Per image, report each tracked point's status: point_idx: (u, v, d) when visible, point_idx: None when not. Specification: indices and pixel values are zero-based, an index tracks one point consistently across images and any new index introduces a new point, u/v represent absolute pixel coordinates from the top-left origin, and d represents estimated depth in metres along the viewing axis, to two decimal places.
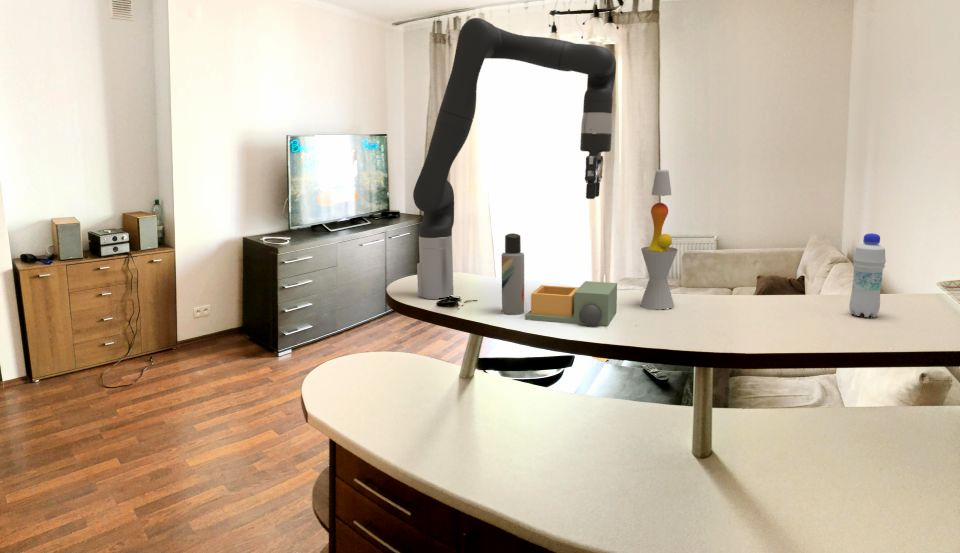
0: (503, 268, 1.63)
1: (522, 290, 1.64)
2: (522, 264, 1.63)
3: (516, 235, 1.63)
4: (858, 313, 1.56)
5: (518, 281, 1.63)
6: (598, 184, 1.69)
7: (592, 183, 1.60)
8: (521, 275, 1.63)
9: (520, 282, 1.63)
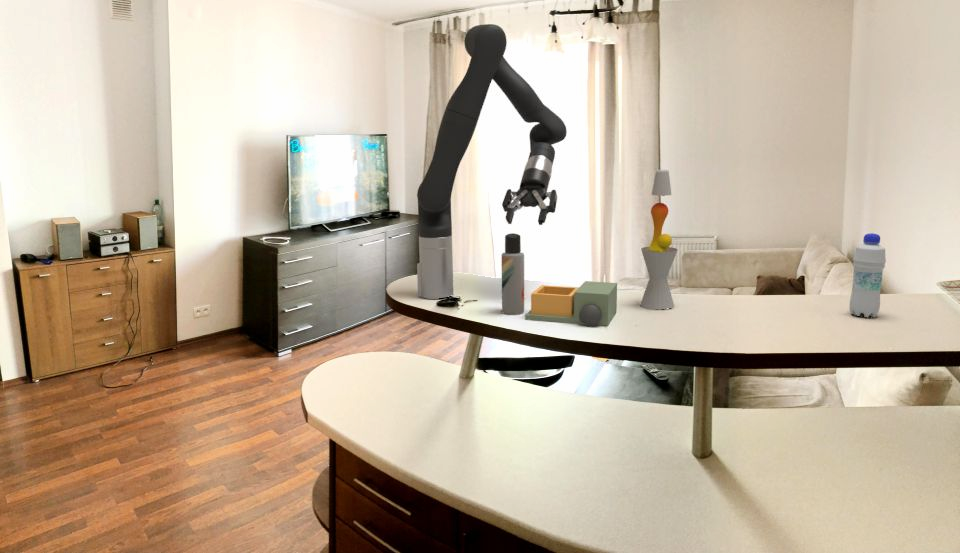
0: (503, 268, 1.63)
1: (522, 290, 1.64)
2: (522, 264, 1.63)
3: (516, 235, 1.63)
4: (858, 313, 1.56)
5: (518, 281, 1.63)
6: (513, 214, 1.76)
7: (547, 212, 1.72)
8: (521, 275, 1.63)
9: (520, 282, 1.63)
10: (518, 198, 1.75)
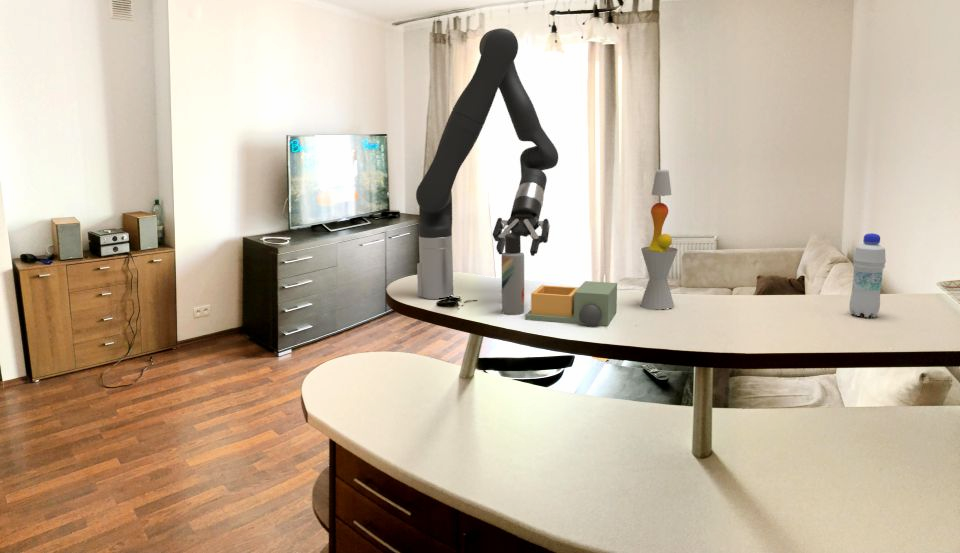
0: (503, 268, 1.63)
1: (522, 290, 1.64)
2: (522, 264, 1.63)
3: (516, 235, 1.63)
4: (858, 313, 1.56)
5: (518, 281, 1.63)
6: (504, 244, 1.70)
7: (539, 242, 1.66)
8: (521, 275, 1.63)
9: (520, 282, 1.63)
10: (509, 227, 1.69)
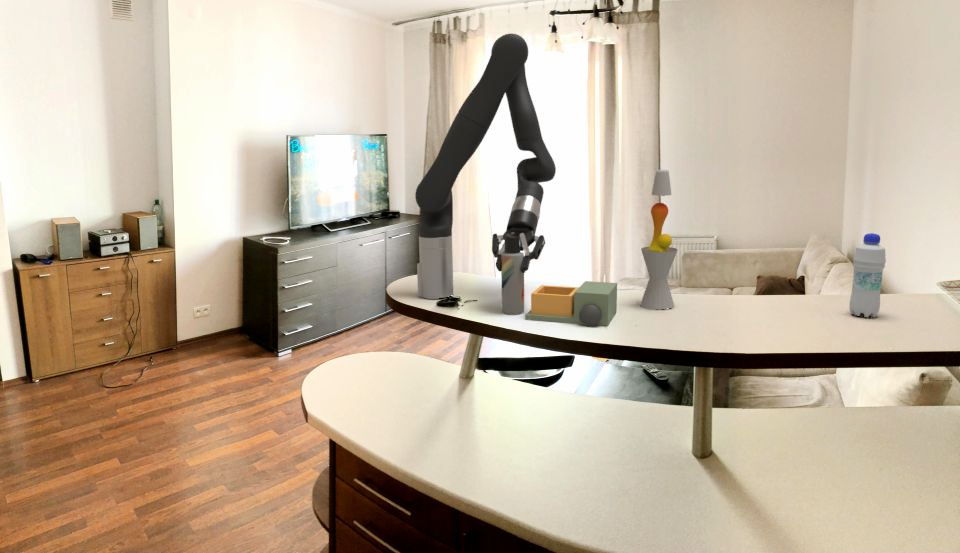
0: (503, 268, 1.63)
1: (522, 290, 1.64)
2: None
3: (516, 235, 1.63)
4: (858, 313, 1.56)
5: (518, 281, 1.63)
6: None
7: (529, 260, 1.64)
8: (521, 275, 1.63)
9: (520, 282, 1.63)
10: None
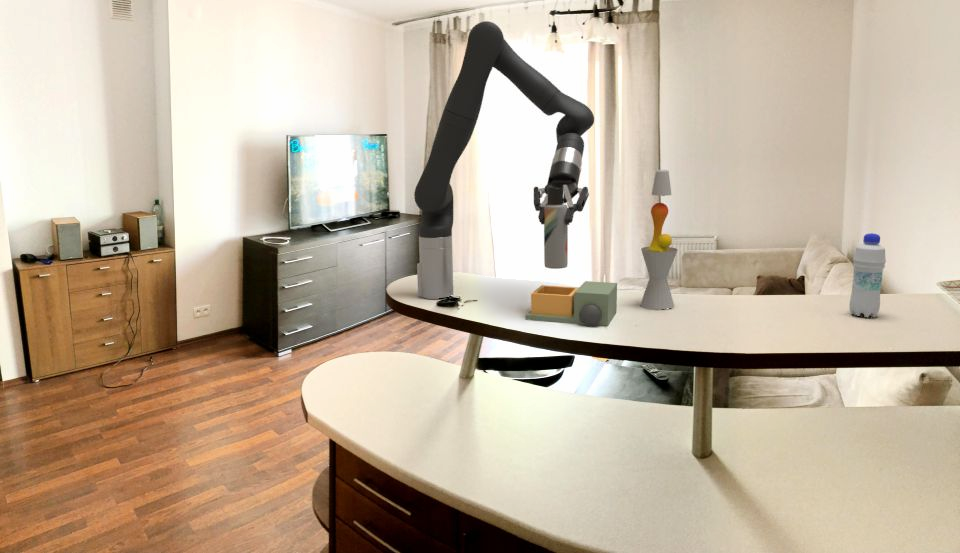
0: (546, 220, 1.58)
1: (566, 243, 1.58)
2: None
3: (559, 186, 1.57)
4: (858, 313, 1.56)
5: (562, 233, 1.57)
6: None
7: (573, 212, 1.58)
8: (565, 227, 1.57)
9: (564, 235, 1.57)
10: None
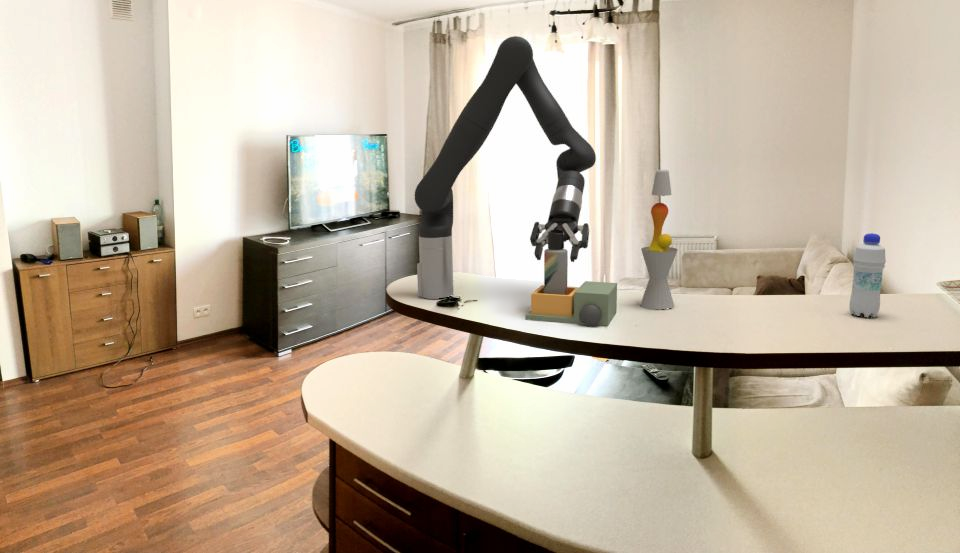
0: (546, 265, 1.60)
1: (565, 287, 1.61)
2: (566, 261, 1.59)
3: (559, 231, 1.59)
4: (858, 313, 1.56)
5: (561, 278, 1.59)
6: (542, 249, 1.63)
7: (579, 248, 1.60)
8: (565, 272, 1.60)
9: (563, 279, 1.60)
10: None
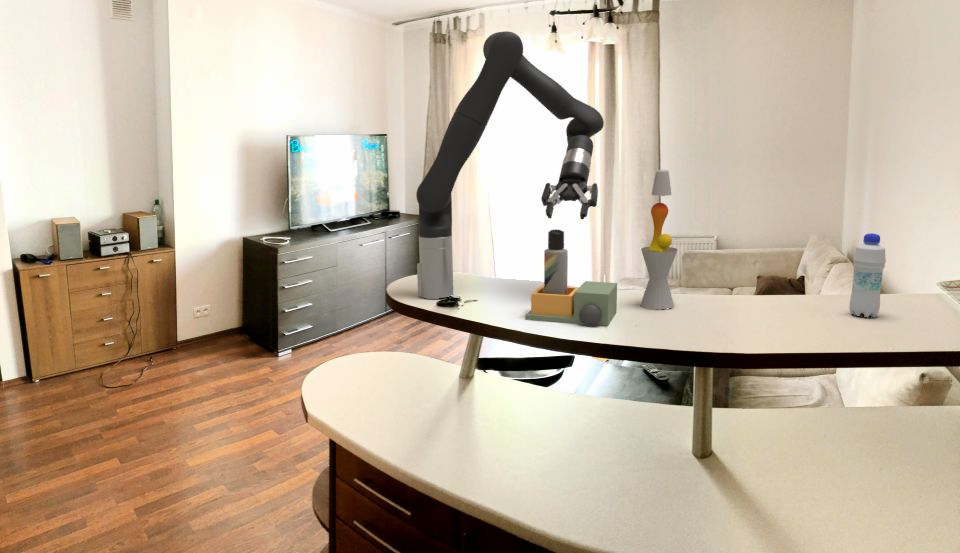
0: (546, 265, 1.60)
1: (565, 287, 1.61)
2: (566, 261, 1.59)
3: (560, 231, 1.59)
4: (858, 313, 1.56)
5: (561, 278, 1.59)
6: None
7: (588, 206, 1.68)
8: (565, 272, 1.60)
9: (563, 279, 1.60)
10: (558, 192, 1.70)
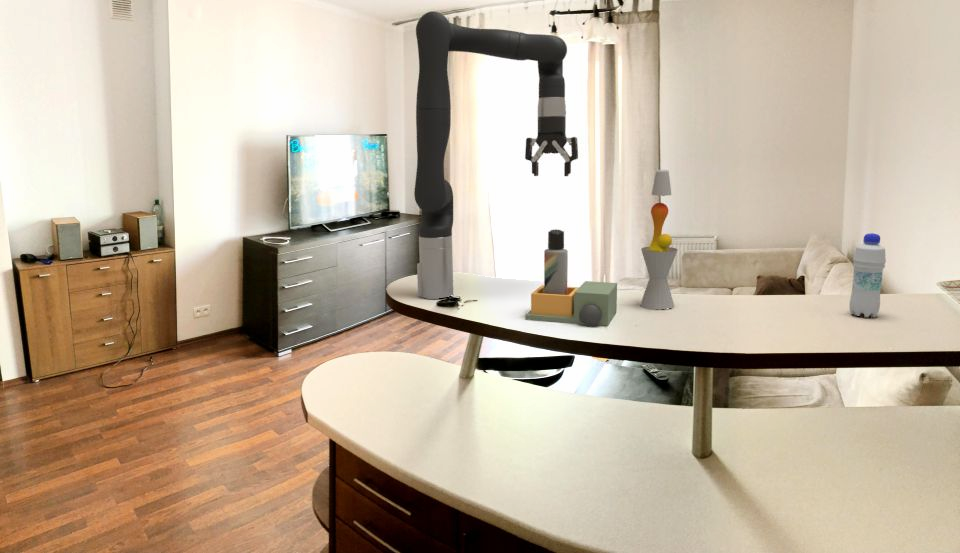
0: (546, 265, 1.60)
1: (565, 287, 1.61)
2: (566, 261, 1.59)
3: (560, 231, 1.59)
4: (858, 313, 1.56)
5: (561, 278, 1.59)
6: None
7: (571, 161, 1.78)
8: (565, 272, 1.60)
9: (563, 279, 1.60)
10: (540, 151, 1.78)
